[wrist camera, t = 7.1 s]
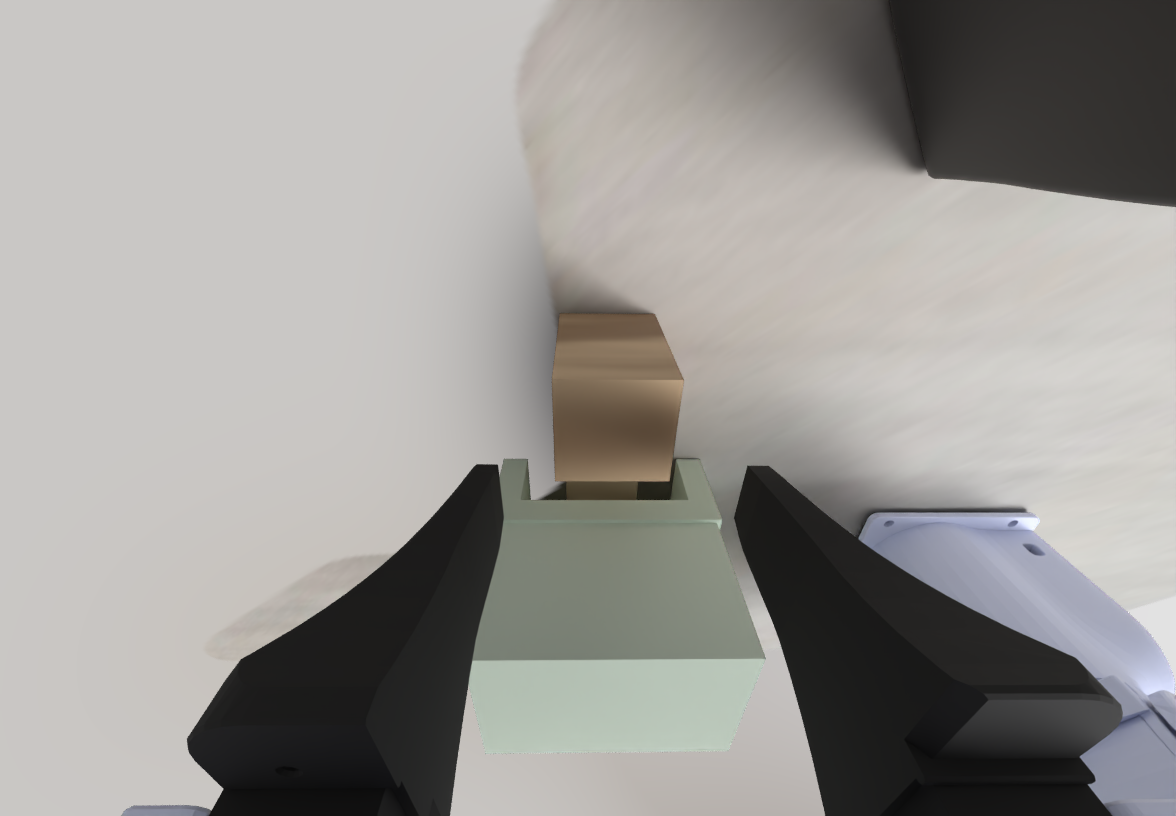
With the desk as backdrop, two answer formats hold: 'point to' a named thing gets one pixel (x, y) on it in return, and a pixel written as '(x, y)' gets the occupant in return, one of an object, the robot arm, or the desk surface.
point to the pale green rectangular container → (612, 625)
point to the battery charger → (1045, 93)
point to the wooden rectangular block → (613, 404)
